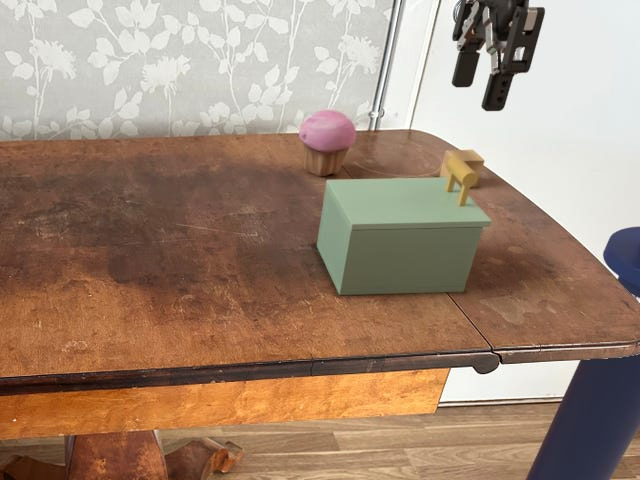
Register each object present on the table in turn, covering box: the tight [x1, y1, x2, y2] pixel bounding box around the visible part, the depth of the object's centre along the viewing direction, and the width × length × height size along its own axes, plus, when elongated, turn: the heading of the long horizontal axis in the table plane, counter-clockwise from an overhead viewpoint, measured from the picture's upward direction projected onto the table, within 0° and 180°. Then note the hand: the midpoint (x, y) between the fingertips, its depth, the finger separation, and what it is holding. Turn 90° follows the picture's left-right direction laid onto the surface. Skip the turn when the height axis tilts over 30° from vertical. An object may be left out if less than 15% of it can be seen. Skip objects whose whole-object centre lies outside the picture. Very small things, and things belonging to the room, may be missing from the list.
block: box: [438, 149, 485, 188], centre depth 112 cm, size 4×4×4 cm
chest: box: [316, 185, 484, 296], centre depth 89 cm, size 16×13×9 cm
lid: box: [325, 156, 492, 230], centre depth 85 cm, size 16×13×5 cm
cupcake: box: [298, 109, 357, 177], centre depth 114 cm, size 9×9×10 cm
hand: (475, 97), depth 79 cm, fingers open, 8 cm apart
